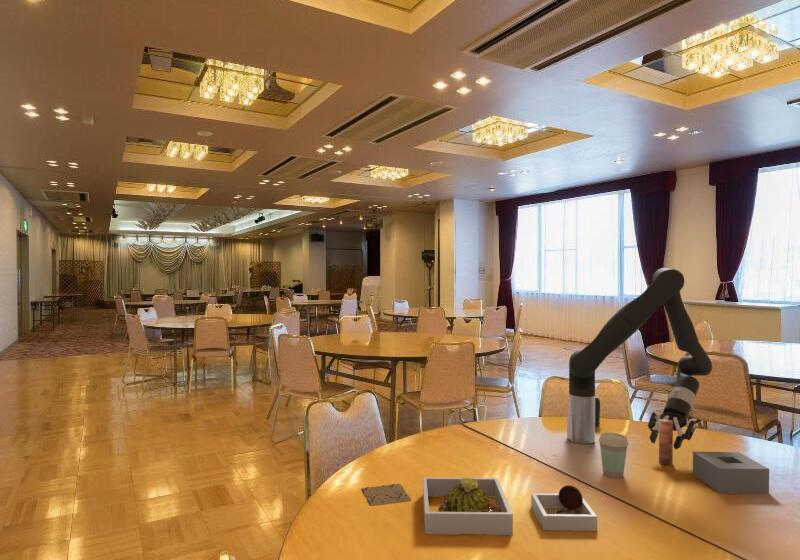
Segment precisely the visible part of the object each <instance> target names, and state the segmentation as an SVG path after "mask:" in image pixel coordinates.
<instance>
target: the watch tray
mask: <svg viewBox="0 0 800 560" xmlns="http://www.w3.org/2000/svg"><path fill="white" fill-rule="evenodd" d="M530 496H531V499H530V503H531V509H532V511H533V512H534V514H535V516H536V518H537V520H538V522H539V524H540V526H541V528H542V530H543V531H574V532H575V531H576V532H577V531H579V532H580V531H581V532H583V531H585V532H586V531H587V532H588V531H594V532H598V516H597V514H596V513H595V512H594V510H593V509H592V508H591V506H590V505H589V504H588V502H587V501H586V500H585V499H584V496H582V498H583V503H582V505H581V507H580V508H579V509H577V510H578V512H579V514H576V513H575V514H553V513H547V512H546V510H545V509H566V508H565V507H563V505H562V504H561V503H560V501H559V493H551V492H550V493H544V492H543V493H537V492H536V493H534V492H531V495H530Z"/></svg>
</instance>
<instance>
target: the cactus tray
mask: <svg viewBox="0 0 800 560" xmlns="http://www.w3.org/2000/svg"><path fill="white" fill-rule="evenodd" d="M462 478H464V479H465V477H435V476H434V477H427V476H425V477H422V500H423V501H422V503H423V518H424V519H423V520H424V535H460V534H478V535H477V536H481V535H482V534H487V535H486V536H513V535H514V533H513V532H514V530H513V529H514V528H513V527H514V521H513V520H514V519H513V518H514V516H513V511H512V509H511V507H510V504H509V501H508V499H507V497H506V495H505V492H504V489H503V488H502V487H503V486H502V485H501V482H500V481H499V478H498V477H470V478H471V479H475V480H477V481H476V482H478V484H479V485H478V486H479V488H480V489H481V490H482V489H483V490H482V492H486V496H487V495H488V496H487V498H494V500H495V503H496V502H497V503H496V506H497V507H498V508H499V509H500V511H501V512H438V511H430V507H429V506H430V505H429V496H431V497H434V496H438V497H442V496H446V495H447V494H448V492H449V491H450V490H451V489H453V487H454V486H457V484H458V485H459V484H460V480H462ZM477 488H478V487H477ZM438 497H437V498H438ZM442 498H443V497H442ZM479 534H481V535H479ZM489 534H490V535H489ZM482 536H483V535H482Z"/></svg>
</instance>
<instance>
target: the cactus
mask: <svg viewBox="0 0 800 560" xmlns="http://www.w3.org/2000/svg"><path fill="white" fill-rule="evenodd" d="M461 478H462V480H460V484H459V485H458V484H457V486H454V487H453V489H451V490H450V491H449V492H448V494H447V495H446V497H445V501H443V502H442V503H441V504H440V505H439V507H438V510H437V512H489V511H490V509H491V510H492V511H490V512H501V511H500V509H499V508H498V505H494V504H492V503H490V502H491V501H490V500H489V497H487V496H488V495H487V496H486V492H482V490H483V489H482V490H481V489H480V488H479V486H478V485H479V484H478V482H476V481H477V480H475V479H471V478H472V477H466V476H465V477H461ZM464 478H465V479H464ZM477 487H478V488H477ZM489 507H490V508H489Z"/></svg>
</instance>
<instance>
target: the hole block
mask: <svg viewBox="0 0 800 560" xmlns="http://www.w3.org/2000/svg"><path fill="white" fill-rule="evenodd" d="M692 475H694V476H695V477H696V478H698V479H699V480H701V481H702V482H704V483H705V484H706V485H707V486H709V487H711V488H712V489H713V490H714V491H716V492H717V493H718V494H770V468H769V467H767V466H765V465H763V464H761V463H759V462H757V461H756V460H753V459H752V458H750V457H749V456H746V455H745V454H743V453H741V452H739V451H692Z"/></svg>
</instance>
